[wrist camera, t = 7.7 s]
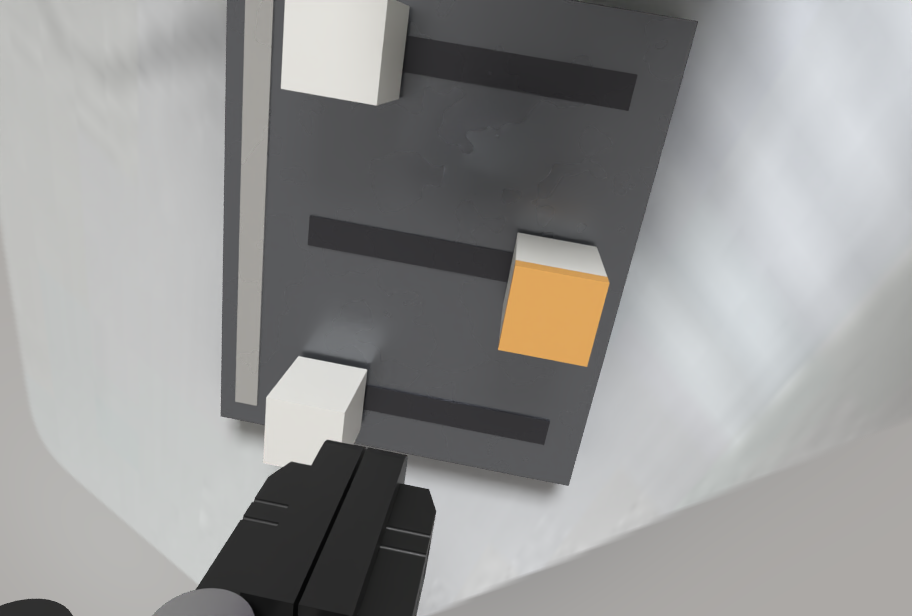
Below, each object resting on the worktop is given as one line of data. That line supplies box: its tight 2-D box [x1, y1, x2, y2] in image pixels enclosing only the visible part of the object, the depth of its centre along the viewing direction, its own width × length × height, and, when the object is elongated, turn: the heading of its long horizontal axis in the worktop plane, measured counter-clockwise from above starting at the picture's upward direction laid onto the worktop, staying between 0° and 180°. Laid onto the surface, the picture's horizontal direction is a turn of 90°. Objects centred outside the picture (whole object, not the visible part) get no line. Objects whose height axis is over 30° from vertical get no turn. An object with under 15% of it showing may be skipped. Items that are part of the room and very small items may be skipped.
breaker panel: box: [221, 0, 698, 486], centre depth 25 cm, size 16×19×2 cm
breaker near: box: [281, 0, 410, 106], centre depth 20 cm, size 3×3×4 cm
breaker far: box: [263, 356, 367, 467], centre depth 25 cm, size 3×3×4 cm
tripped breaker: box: [498, 233, 609, 367], centre depth 22 cm, size 3×3×4 cm
